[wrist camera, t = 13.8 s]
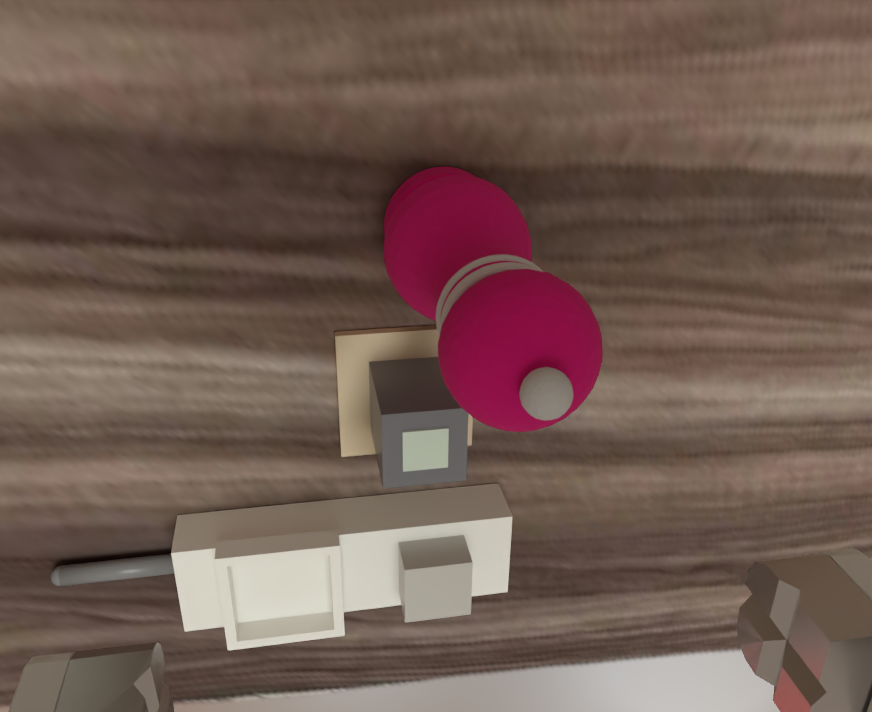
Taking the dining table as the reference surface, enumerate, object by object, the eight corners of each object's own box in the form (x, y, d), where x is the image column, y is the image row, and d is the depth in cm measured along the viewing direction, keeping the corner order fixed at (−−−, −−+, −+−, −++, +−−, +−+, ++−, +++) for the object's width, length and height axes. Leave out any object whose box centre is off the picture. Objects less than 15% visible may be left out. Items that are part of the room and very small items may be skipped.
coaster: (473, 322, 46) (475, 326, 46) (469, 439, 50) (471, 445, 49) (334, 331, 45) (335, 336, 45) (340, 451, 49) (341, 457, 48)
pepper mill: (532, 214, 44) (703, 386, 27) (444, 309, 46) (552, 532, 28) (436, 127, 41) (557, 256, 24) (346, 233, 43) (397, 428, 25)
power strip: (498, 477, 52) (524, 536, 46) (494, 561, 55) (517, 625, 49) (42, 522, 47) (13, 594, 42) (65, 610, 50) (41, 687, 45)
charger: (446, 356, 46) (469, 409, 41) (445, 423, 48) (466, 481, 43) (368, 361, 46) (381, 416, 40) (370, 429, 48) (383, 490, 42)
